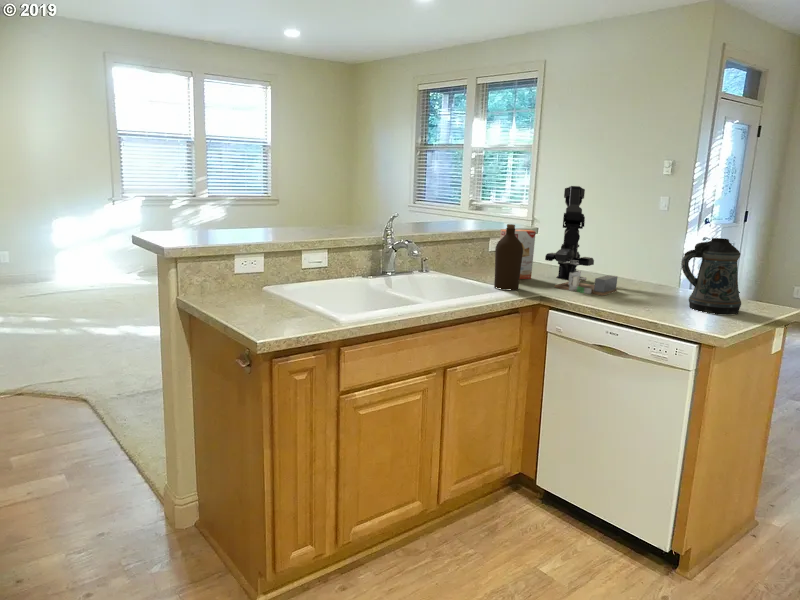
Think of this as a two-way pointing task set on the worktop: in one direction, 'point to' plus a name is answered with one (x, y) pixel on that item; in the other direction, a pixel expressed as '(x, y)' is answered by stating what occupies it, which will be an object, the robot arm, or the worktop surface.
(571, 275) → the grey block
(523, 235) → the cracker box
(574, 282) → the telltale
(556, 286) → the gauge base
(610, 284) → the grey rectangular block
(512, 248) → the olive oil
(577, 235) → the robot arm
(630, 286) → the worktop surface
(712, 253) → the beer stein
